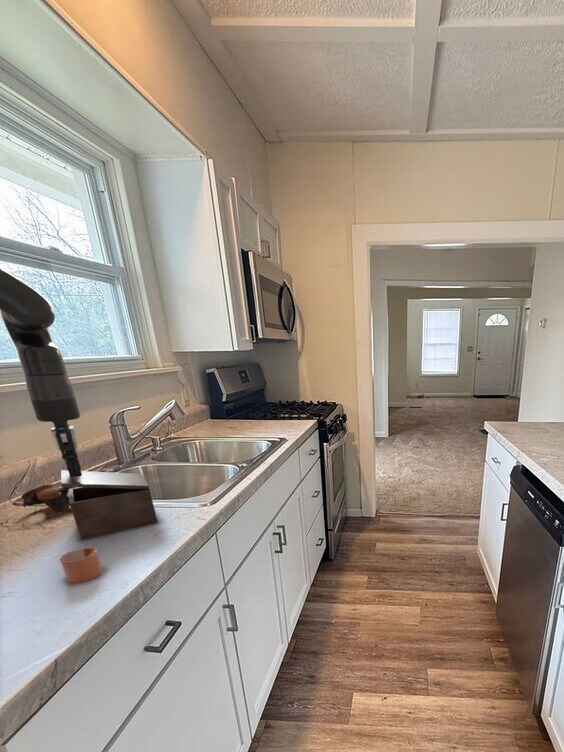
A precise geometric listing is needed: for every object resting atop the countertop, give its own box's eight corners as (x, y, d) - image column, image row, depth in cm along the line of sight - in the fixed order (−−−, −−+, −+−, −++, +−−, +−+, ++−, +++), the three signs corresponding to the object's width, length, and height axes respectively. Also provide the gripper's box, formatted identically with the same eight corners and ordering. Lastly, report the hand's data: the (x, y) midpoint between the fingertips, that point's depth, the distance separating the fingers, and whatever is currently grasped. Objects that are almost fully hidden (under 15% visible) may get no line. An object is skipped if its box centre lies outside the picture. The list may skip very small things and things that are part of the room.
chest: (81, 539, 91) (69, 503, 87) (79, 522, 100) (68, 488, 97) (157, 522, 99) (149, 489, 96) (149, 507, 109) (141, 476, 105)
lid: (61, 487, 86) (61, 464, 84) (61, 473, 95) (60, 452, 94) (149, 489, 96) (149, 468, 95) (141, 476, 105) (141, 457, 104)
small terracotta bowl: (75, 586, 73) (67, 564, 72) (62, 577, 76) (54, 556, 74) (108, 572, 78) (101, 552, 76) (94, 564, 80) (88, 545, 79)
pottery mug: (34, 523, 101) (13, 495, 99) (41, 527, 109) (22, 501, 107) (85, 500, 107) (66, 473, 105) (89, 505, 115) (71, 480, 113)
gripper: (75, 398, 82) (97, 478, 88) (73, 393, 93) (93, 464, 99) (28, 401, 78) (55, 484, 84) (32, 394, 88) (55, 469, 95)
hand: (75, 473), depth 92 cm, fingers closed on lid, 5 cm apart
